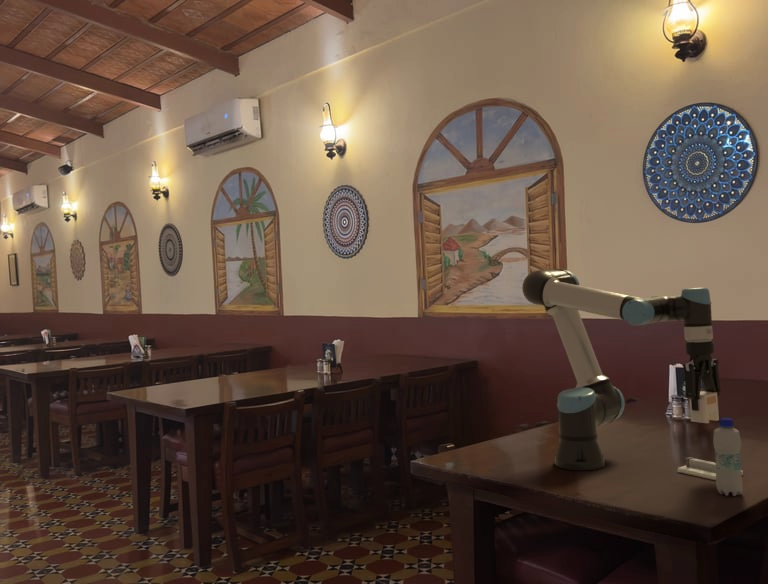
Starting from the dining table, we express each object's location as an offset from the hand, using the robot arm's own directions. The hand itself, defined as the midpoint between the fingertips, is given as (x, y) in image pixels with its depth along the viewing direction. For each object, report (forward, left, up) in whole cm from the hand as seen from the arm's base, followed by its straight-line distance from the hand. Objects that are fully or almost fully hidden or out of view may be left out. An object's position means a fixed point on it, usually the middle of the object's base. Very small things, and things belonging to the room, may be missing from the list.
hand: (705, 419), depth 202 cm
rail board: (0, -1, -16) cm, 16 cm away
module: (0, 0, 0) cm, 0 cm away
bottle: (-13, -15, -16) cm, 25 cm away
